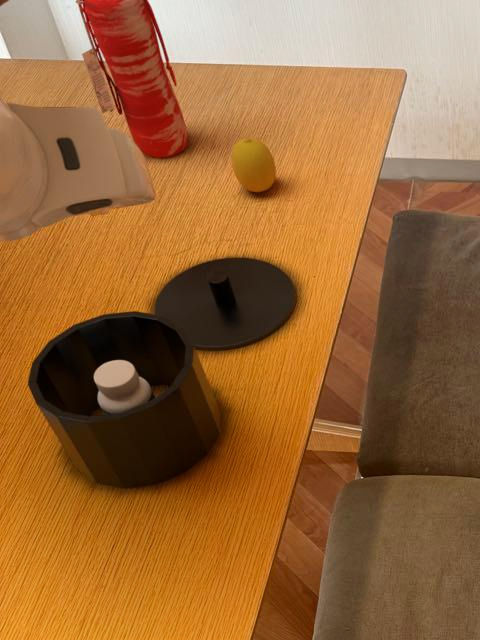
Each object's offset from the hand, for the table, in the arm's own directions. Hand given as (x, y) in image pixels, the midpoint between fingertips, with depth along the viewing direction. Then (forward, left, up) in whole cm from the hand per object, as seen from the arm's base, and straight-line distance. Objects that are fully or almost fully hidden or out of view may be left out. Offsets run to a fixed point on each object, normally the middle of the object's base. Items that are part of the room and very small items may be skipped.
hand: (40, 216), depth 76 cm
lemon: (+12, +43, -27) cm, 52 cm away
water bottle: (-3, +56, -27) cm, 62 cm away
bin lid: (+8, +19, -26) cm, 33 cm away
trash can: (0, -1, -27) cm, 27 cm away
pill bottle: (0, -1, -26) cm, 26 cm away
